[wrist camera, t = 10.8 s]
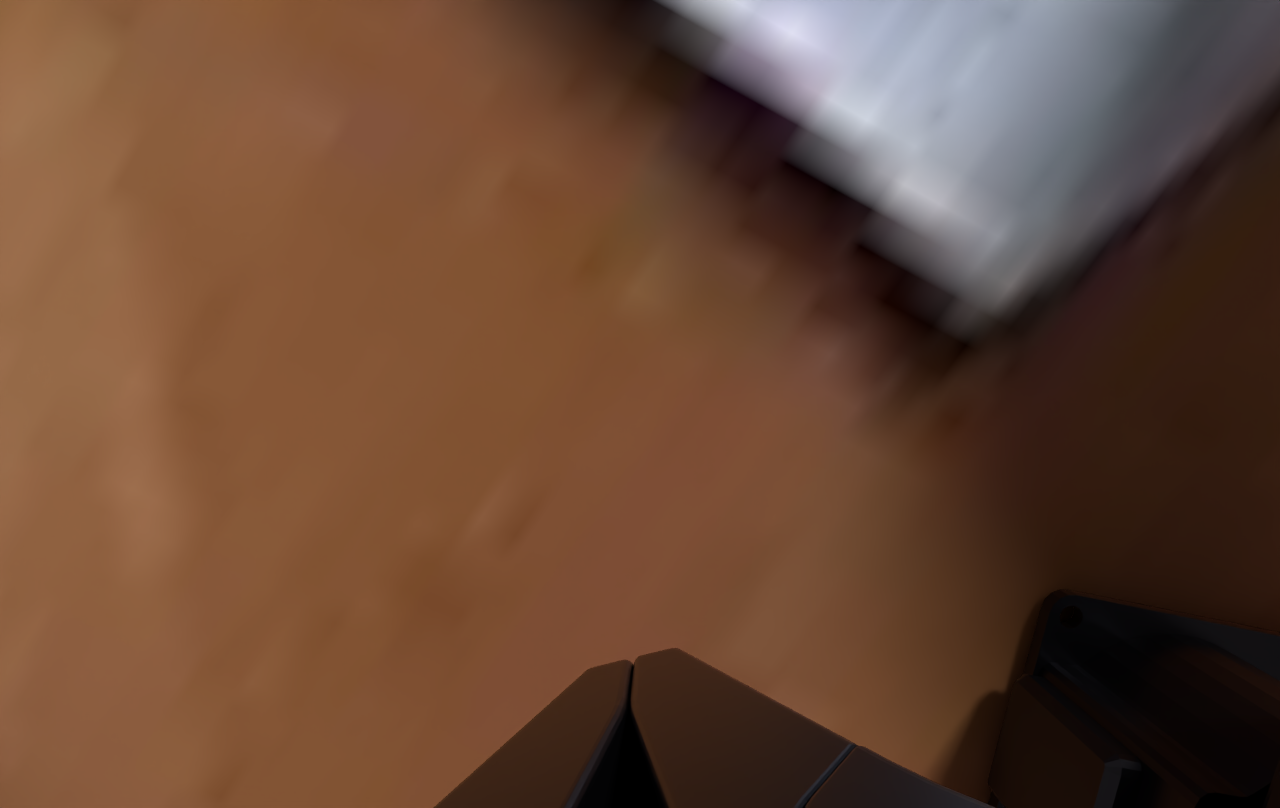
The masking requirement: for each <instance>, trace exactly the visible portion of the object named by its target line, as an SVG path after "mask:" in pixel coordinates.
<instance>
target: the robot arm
mask: <svg viewBox="0 0 1280 808" xmlns="http://www.w3.org/2000/svg"><path fill="white" fill-rule="evenodd" d="M1068 606H1073V607H1074V614H1073V615H1072V617H1071V619H1069V620H1068V621H1066V622H1060V614H1061V612H1062V611H1063V609H1065V608H1066V607H1068ZM988 785H989V786H990V788H991V790H992V792H991V796H990V799H989V803H988V804H986V803H983V802H981V801H979V800H976V799H974V798H971V797H969V796H966V795H964V794H962V793H959V792H957V791H954V790H952V789H949V788H947V787H944V786H942V785H940V784H937V783H935V782H933V781H931V780H929V779H927V778H925V777H923V776H921V775H919V774H917V773H915V772H913V771H910V770H908V769H906V768H904V767H902V766H900V765H898V764H896V763H894V762H892V761H890V760H888V759H886V758H884V757H882V756H881V755H879V754H877V753H875V752H873V751H871V750H869V749H868V748H866V747H863V746H858V745H856V744H855V743H853V742H851V741H849V740H847V739H845V738H844V737H842V736H840V735H838V734H836V733H834V732H832V731H831V730H829V729H827V728H825V727H823V726H821V725H819V724H818V723H816V722H814V721H812V720H810V719H808V718H806V717H805V716H803V715H801V714H799V713H797V712H795V711H793V710H792V709H790V708H788V707H786V706H784V705H782V704H781V703H779V702H777V701H775V700H773V699H771V698H769V697H768V696H766V695H764V694H762V693H760V692H758V691H756V690H755V689H753V688H751V687H749V686H747V685H745V684H743V683H742V682H740V681H738V680H736V679H734V678H732V677H730V676H729V675H727V674H725V673H723V672H721V671H719V670H717V669H716V668H714V667H712V666H710V665H708V664H706V663H704V662H703V661H701V660H699V659H697V658H695V657H693V656H691V655H690V654H688V653H686V652H684V651H682V650H680V649H677V648H671V649H667V650H662V651H658V652H654V653H650V654H646V655H641V656H639V657H638V658H637V659H636V660H635V662H634V665H633V664H632V663H631V662H630V661H628V660H621V661H617V662H613V663H609V664H605V665H601V666H597V667H593V668H590V669H588V670H587V671H586V672H584V673H583V674H582V675H581V676H580V677H579V678H578V679H577V680H576V681H574V682H573V683H572V684H571V685H570V686H569V687H568V688H567V689H565V690H564V691H563V692H562V693H561V694H560V695H559V696H558V697H557V698H555V699H554V700H553V701H552V702H551V703H550V704H549V705H548V706H547V707H545V708H544V709H543V710H542V711H541V712H540V713H539V714H538V715H536V716H535V717H534V718H533V719H532V720H531V721H530V722H529V723H528V724H526V725H525V726H524V727H523V728H522V729H521V730H520V731H519V732H518V733H516V734H515V735H514V736H513V737H512V738H511V739H510V740H509V741H507V742H506V743H505V744H504V745H503V746H502V747H501V748H500V749H499V750H497V751H496V752H495V753H494V754H493V755H492V756H491V757H490V758H488V759H487V760H486V761H485V762H484V763H483V764H482V765H481V766H480V767H478V768H477V769H476V770H475V771H474V772H473V773H472V774H471V775H470V776H468V777H467V778H466V779H465V780H464V781H463V782H462V783H461V784H459V785H458V786H457V787H456V788H455V789H454V790H453V791H452V792H451V793H449V794H448V795H447V796H446V797H445V798H444V799H443V800H442V801H441V802H439V803H438V804H437V805H436V806H435V807H434V808H1280V632H1275V631H1270V630H1265V629H1260V628H1255V627H1250V626H1246V625H1241V624H1236V623H1231V622H1226V621H1221V620H1216V619H1211V618H1206V617H1201V616H1196V615H1191V614H1186V613H1181V612H1176V611H1171V610H1167V609H1162V608H1157V607H1152V606H1147V605H1142V604H1137V603H1132V602H1127V601H1122V600H1117V599H1112V598H1107V597H1102V596H1097V595H1092V594H1088V593H1083V592H1078V591H1073V590H1058V591H1055V592H1053V593H1051V594H1050V595H1049V596H1048V597H1047V598H1046V599H1045V600H1044V602H1043V604H1042V606H1041V610H1040V613H1039V617H1038V621H1037V625H1036V628H1035V632H1034V636H1033V639H1032V643H1031V647H1030V651H1029V654H1028V658H1027V662H1026V665H1025V669H1024V673H1023V675H1022V676H1021V677H1020V678H1019V679H1018V680H1016V681H1015V682H1014V685H1013V689H1012V692H1011V696H1010V700H1009V703H1008V707H1007V711H1006V715H1005V718H1004V722H1003V726H1002V730H1001V733H1000V737H999V741H998V744H997V748H996V752H995V756H994V759H993V763H992V767H991V771H990V774H989V778H988Z"/></svg>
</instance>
